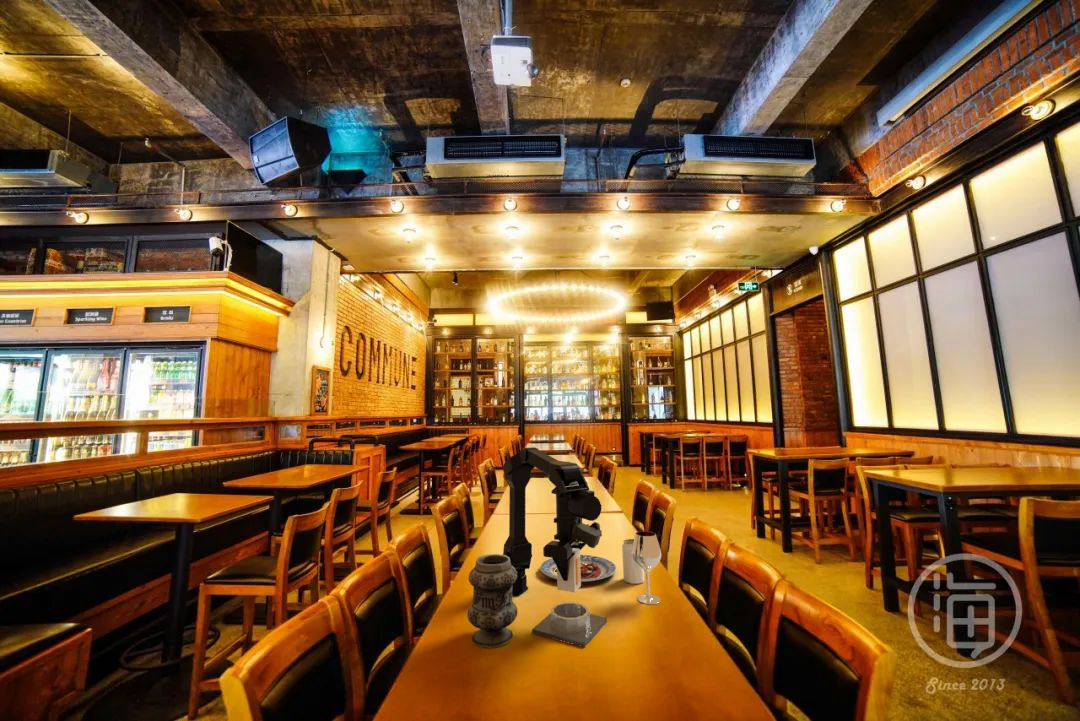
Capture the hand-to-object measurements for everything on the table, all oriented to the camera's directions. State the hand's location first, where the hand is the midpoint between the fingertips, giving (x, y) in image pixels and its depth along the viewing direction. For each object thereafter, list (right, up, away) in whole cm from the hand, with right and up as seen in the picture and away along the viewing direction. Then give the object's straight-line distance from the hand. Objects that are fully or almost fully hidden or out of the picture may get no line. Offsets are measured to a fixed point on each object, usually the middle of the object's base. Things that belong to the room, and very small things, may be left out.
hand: (568, 577), depth 108 cm
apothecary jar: (-19, -12, -6) cm, 23 cm away
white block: (0, -3, 0) cm, 2 cm away
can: (+23, -16, +28) cm, 39 cm away
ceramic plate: (+6, -17, +36) cm, 40 cm away
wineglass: (+24, -14, +14) cm, 31 cm away
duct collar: (0, -12, -2) cm, 12 cm away
